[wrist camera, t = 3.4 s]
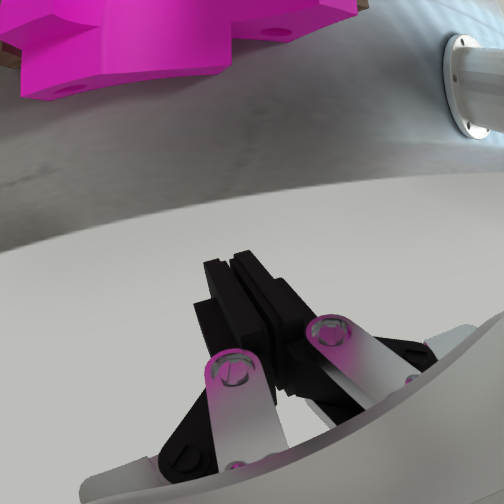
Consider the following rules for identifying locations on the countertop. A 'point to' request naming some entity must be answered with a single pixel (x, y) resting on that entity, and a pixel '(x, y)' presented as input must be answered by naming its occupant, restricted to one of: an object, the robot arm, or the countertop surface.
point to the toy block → (145, 37)
